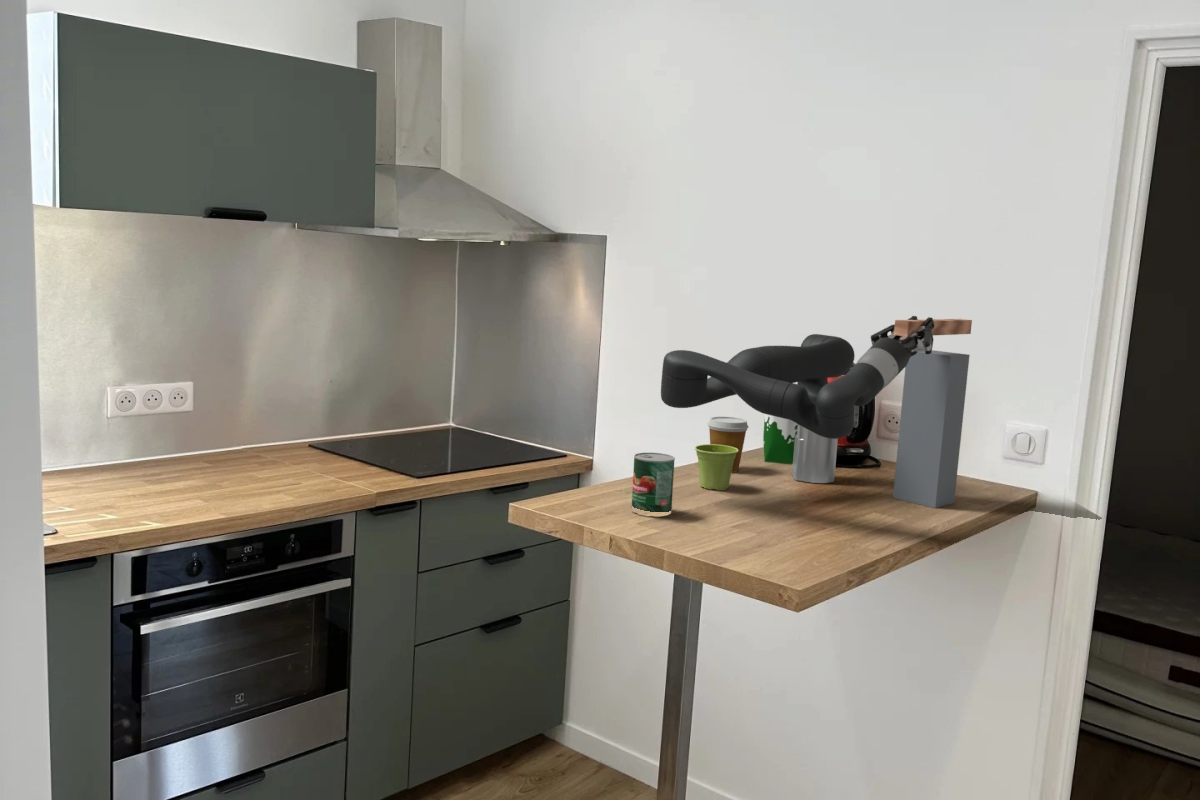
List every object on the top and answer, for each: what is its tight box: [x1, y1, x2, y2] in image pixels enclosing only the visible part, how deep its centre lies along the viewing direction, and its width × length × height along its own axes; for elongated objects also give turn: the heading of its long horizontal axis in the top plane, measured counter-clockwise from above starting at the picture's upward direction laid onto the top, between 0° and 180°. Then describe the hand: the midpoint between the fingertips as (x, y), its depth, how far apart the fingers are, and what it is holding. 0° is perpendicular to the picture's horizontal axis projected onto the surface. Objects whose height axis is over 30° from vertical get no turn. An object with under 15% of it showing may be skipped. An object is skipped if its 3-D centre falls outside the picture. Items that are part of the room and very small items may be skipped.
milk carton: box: [762, 414, 798, 465], centre depth 257 cm, size 9×9×20 cm
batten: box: [894, 318, 973, 336], centre depth 215 cm, size 26×3×3 cm, turn 133°
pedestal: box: [892, 349, 971, 509], centre depth 220 cm, size 8×10×32 cm
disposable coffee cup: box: [707, 416, 749, 474], centre depth 243 cm, size 10×10×12 cm
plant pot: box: [694, 443, 738, 491], centre depth 224 cm, size 9×9×9 cm
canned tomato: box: [631, 452, 676, 512], centre depth 201 cm, size 8×8×11 cm
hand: (923, 320), depth 212 cm, fingers closed on batten, 3 cm apart
